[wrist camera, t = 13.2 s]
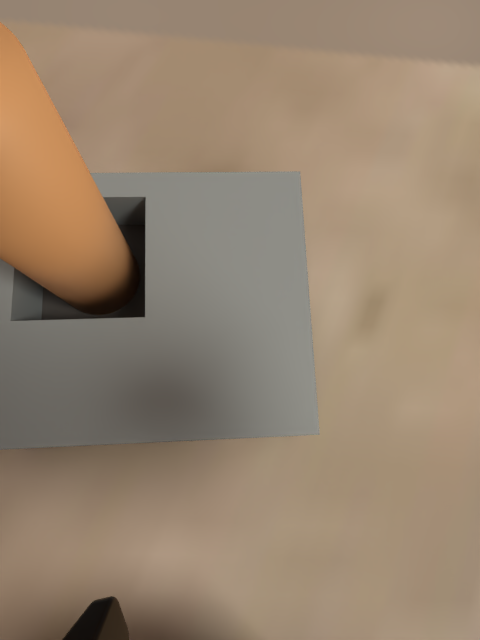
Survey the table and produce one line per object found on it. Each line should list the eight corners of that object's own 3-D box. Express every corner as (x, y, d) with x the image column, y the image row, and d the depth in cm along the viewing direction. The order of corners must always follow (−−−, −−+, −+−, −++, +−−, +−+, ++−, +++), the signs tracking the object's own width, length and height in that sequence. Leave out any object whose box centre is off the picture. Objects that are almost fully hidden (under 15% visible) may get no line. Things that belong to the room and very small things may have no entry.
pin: (155, 269, 21) (75, 76, 8) (105, 330, 20) (-70, 220, 8) (95, 224, 21) (-75, -32, 9) (42, 283, 20) (-231, 97, 8)
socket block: (300, 427, 21) (319, 434, 17) (18, 440, 20) (-30, 450, 16) (286, 210, 23) (299, 171, 19) (32, 213, 22) (-7, 173, 18)
